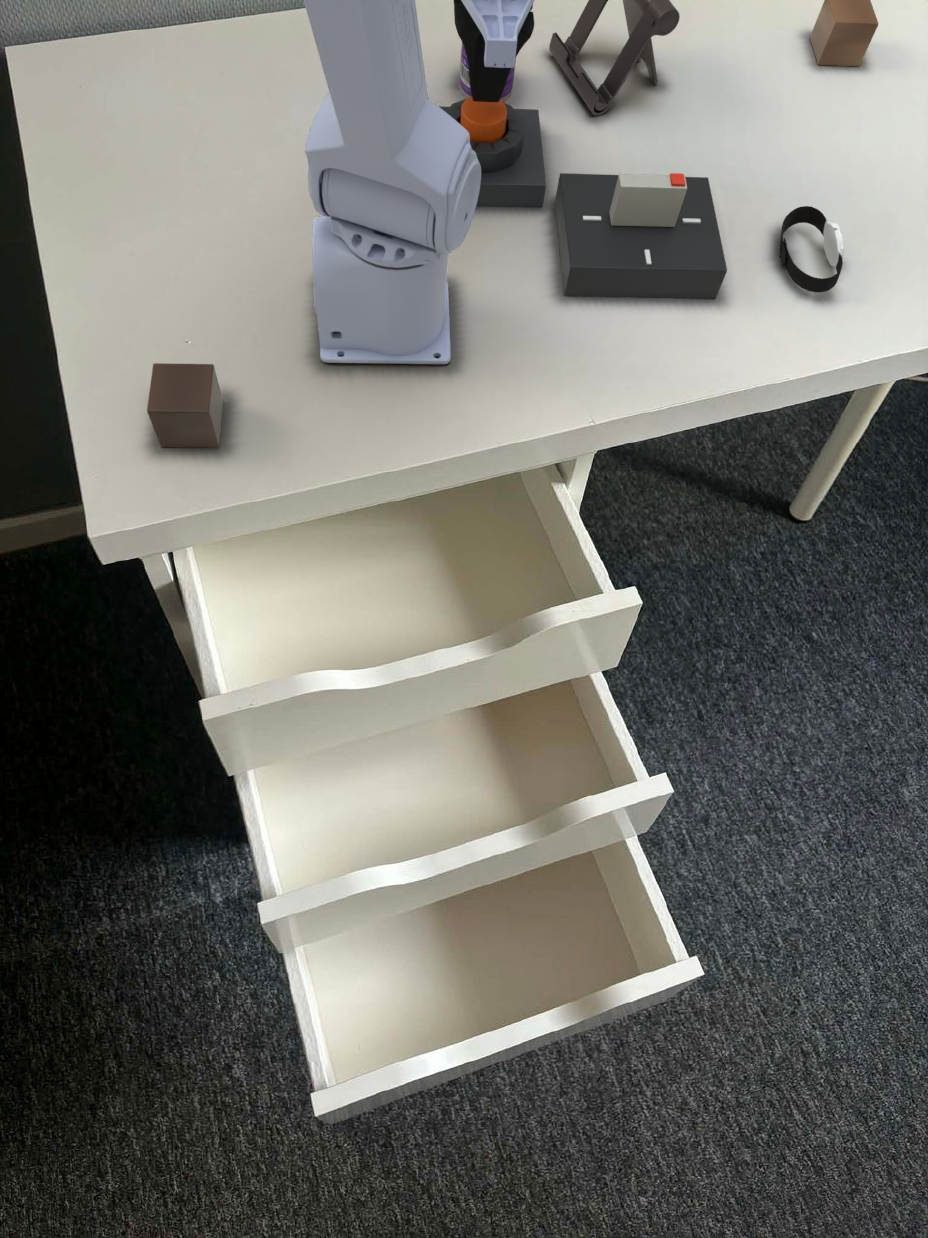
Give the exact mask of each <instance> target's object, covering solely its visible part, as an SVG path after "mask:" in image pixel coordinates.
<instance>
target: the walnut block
mask: <svg viewBox="0 0 928 1238" xmlns="http://www.w3.org/2000/svg"><path fill="white" fill-rule="evenodd" d="M151 371H152V372H151V377H150V385H149V391H148V392H149V393H148V400H147V409H146V412H147V415H148V417H149V420H150V423H151V426H152V428H153V430H154V433H155V435H156V438H157V441H158V444H159V446H160V447H161V448H217V449H218V448H220V443H221V433H222V424H223V423H222V421H223V410H224V398H223V394H222V391H221V387H220V383H219V379H218V375H217V371H216V369H215V365H214V363H163V362H162V363H153V364H152V370H151Z"/></svg>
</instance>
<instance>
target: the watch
mask: <svg viewBox="0 0 928 1238" xmlns="http://www.w3.org/2000/svg"><path fill="white" fill-rule="evenodd" d="M797 224H809V225H812V226H813V227H815V229H816V230H818V231H819V232H820V233H821V235H822V237H823V248H824V252H825V256H826V259H827V261H828V264H829V265H830V266H831V267H835V271H836V273H835V274H834V275H832V276H830V277H825V278H820V277H815V276H812V275H809V274H807V272H804V271H803V270H802V269H800V268H799V267H798V266H797V265H796V263H794V260H793V259H792V256H791V255H790V252H789V249H788V243H787V240H786V237H784V234H785V232H787V230H788V229H789V228H791V227H793V226H795V225H797ZM844 247H845V246H844V238H843V234H842V231H841V228H840V225H839V224H837V222H829V221H828V219H827V218H826V216H825V214H824V213H823V212H822V211H821V210H819V209H818V208H816V207H813V206H811V205H810V206H809V205H803V206H798V207H796V208H794V209H793V210H791V211H790V212H789V213H788V214H787V215H786V216H785V217H784V219H783V222H782V224H781V231H780V238H779V256H778V258H779V259H780V262H781V266H782V268H785V269H786V272H787V274H788V276H789V277H790V280H792V282H794V283H795V284H796V285H797V286H798V287H800V288H801V289H803V290H805V291H808V292H811V293H826V292H828V291H830V290H832V289H833V288H835V286H836V285H837V283H838V281H839V279H840V278H839V277H840V275H841V272H842V269H843V264H844V263H843V259H844V251H845V248H844Z"/></svg>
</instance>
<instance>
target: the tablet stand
mask: <svg viewBox="0 0 928 1238" xmlns="http://www.w3.org/2000/svg"><path fill="white" fill-rule="evenodd" d="M608 2H609V0H588V1H587V3H586V5H585V7H584V8H583V10H582V12H581V14H580V16H579V18H578V20H577V22H576V24H575V26H574V27H573V28H572V29H573V30H572V31H571V33H570V35H569V36H567V38H566V39H565V42H564V41H563V40H562V38H561V37H560V35H559V34H558V33H557V31H556V32H553V33H552V35H551V38H550V42H549V46H548V48H549V52H550V53H551V55H552V56H553V58H554V60H555V61H556V63H557V64H558V65H559V67H560V69H561V70H562V72H563V73H564V74H565V76H566V77H567V79H568V80H569V81H570V83H571V85H572V86H573V88H574V89H575V90H576V92H577V94H578V95H579V96H580V98H581V99H582V101H583V103H585V105H586V107H587V109H588V110H589V111H590V113H591V114H592V115H593V116H595V117H599V116H601V115H603V114H605V113H606V112H607V111H608V110H609V109H610V107H611V106H612V103H614V100H615V99H616V97H617V96H618V94H619V92H620V90H621V88H622V87H623V85H624V83H625V82H626V81H627V78H628V76H629V75H630V73H631V71H632V70H633V68H634V66H635V65H636V63H638V64H639V63H641V62H642V61H643V63H644V64H645V66H646V70H647V74H648V75H647V76H648V78H649V79H650V81H651V82H652V83H653V85H657V84H658V83H659V80H658V74H657V67H656V61H655V54H654V48H653V41H652V38H653V37H654V36H659V37H664V36H668V35H669V34H671V33H672V32H673V31H674V30H675V29H676V28H677V27H678V24H679V21H680V18H681V17H680V12H679V11H678V9H677V8H676V7H675V5H674V4H673V3H672V1H671V0H622V4H623V10H624V16H625V17H624V18H625V23H626V27H627V34H628V39H627V41H626V42H625V44H624V46H623V48H622V49H621V51H620V53H619V54H618V56H617V58H616V60H615V62H614V64H613V65H612V66H611V68H610V70H609V72H608V74H607V75H606V77H605V79H604V80H603V82H602V83H601V84H600V85H599V87H598V88H597V87H596V85H595V84H594V82H593V81H592V79H591V78H590V77H589V75H588V73H587V72H586V70H585V69H584V67H583V66H582V65H581V63H580V62H579V60H578V57H579V55H580V53H581V52H582V49H583V48H584V45H585V44H586V42H587V40H588V38H589V36H590V35H591V33H592V31H593V29H594V27H595V26H596V23H597V22H598V21H599V18H600V16H601V14H602V12H603V11H604V9H605V7H606V5H607V4H608Z"/></svg>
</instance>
